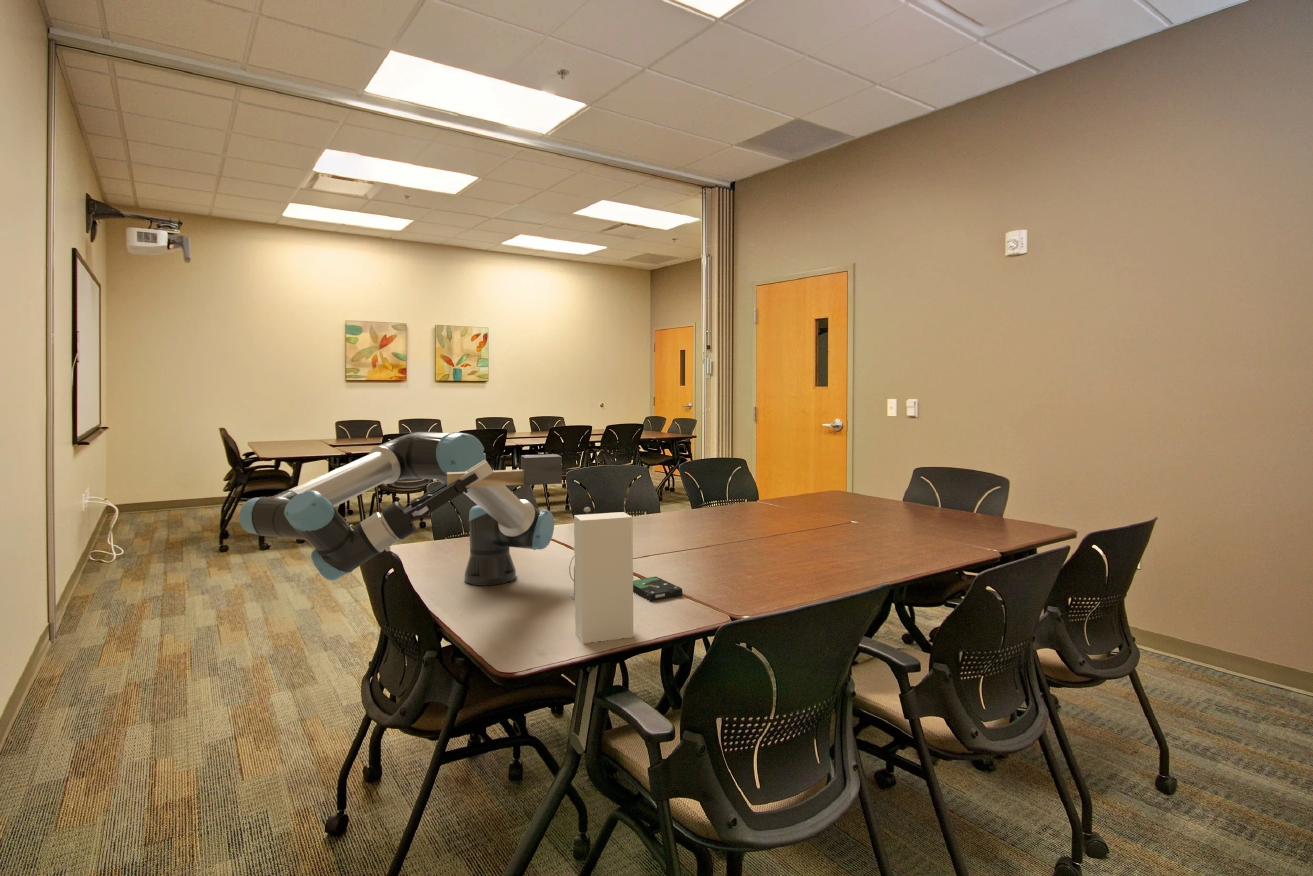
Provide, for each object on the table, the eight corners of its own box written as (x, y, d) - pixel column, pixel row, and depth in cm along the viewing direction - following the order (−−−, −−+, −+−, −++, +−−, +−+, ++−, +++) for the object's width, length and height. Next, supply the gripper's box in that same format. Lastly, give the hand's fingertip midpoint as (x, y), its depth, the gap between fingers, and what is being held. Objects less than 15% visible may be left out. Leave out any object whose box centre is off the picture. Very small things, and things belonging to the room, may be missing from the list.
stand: (575, 633, 160) (573, 515, 158) (624, 627, 164) (623, 512, 162) (582, 643, 153) (580, 520, 151) (633, 637, 157) (632, 517, 155)
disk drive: (683, 598, 189) (655, 584, 202) (683, 588, 189) (655, 575, 201) (651, 604, 184) (625, 590, 196) (651, 594, 183) (625, 580, 196)
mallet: (446, 485, 148) (446, 457, 147) (556, 480, 156) (556, 454, 155) (448, 489, 142) (447, 460, 142) (562, 483, 150) (561, 456, 149)
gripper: (401, 533, 150) (494, 476, 156) (399, 549, 135) (502, 485, 141) (381, 504, 148) (476, 448, 154) (377, 517, 133) (483, 454, 139)
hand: (489, 465), depth 147 cm, fingers closed on mallet, 3 cm apart
